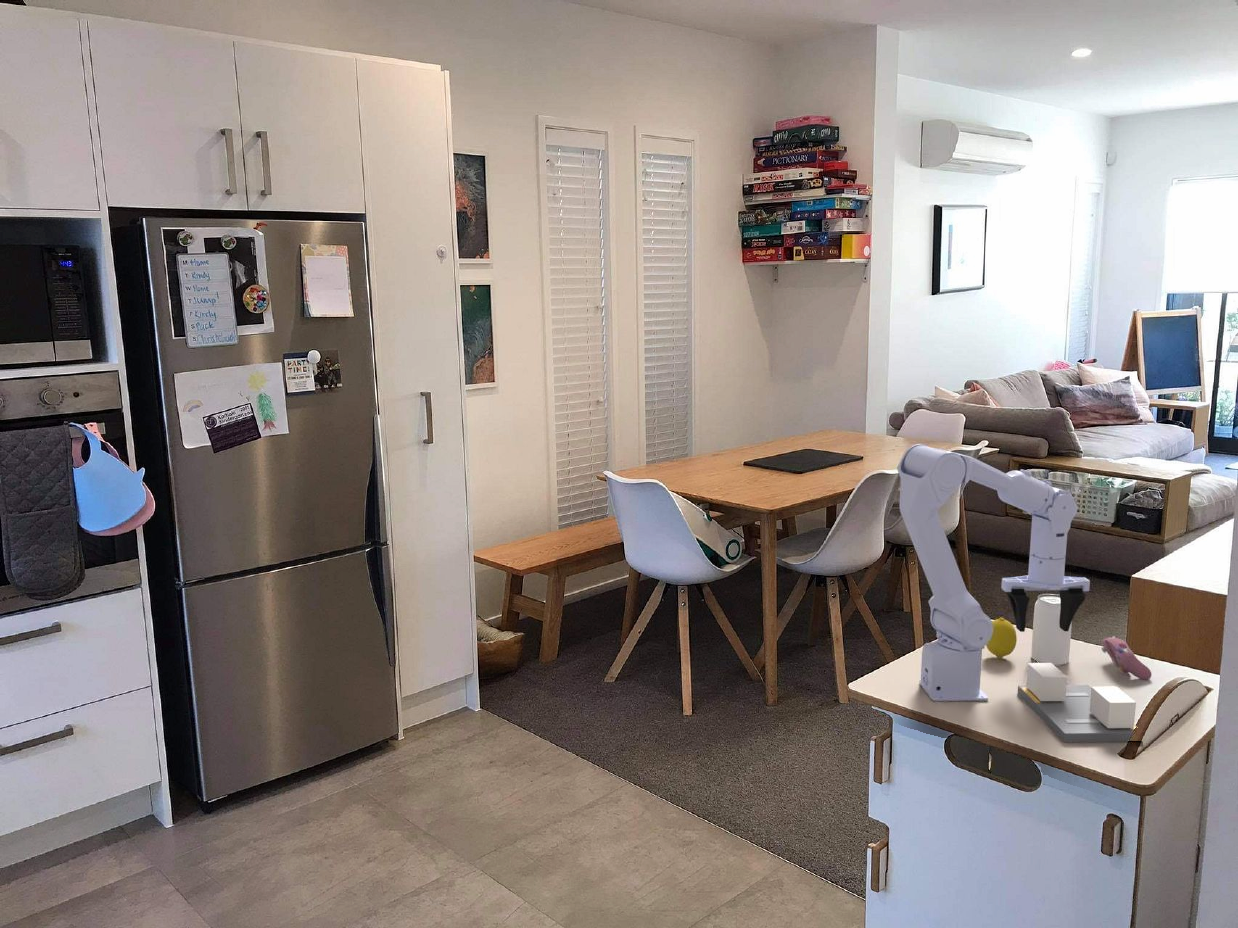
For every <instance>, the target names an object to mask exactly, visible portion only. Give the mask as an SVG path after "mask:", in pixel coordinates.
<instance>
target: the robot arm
mask: <svg viewBox="0 0 1238 928" xmlns="http://www.w3.org/2000/svg"><path fill="white" fill-rule="evenodd" d="M896 470H897V472H898V475H899V477H900V485H899V486H900V489H899V512H900V515H901V517H902V520H903V522H904V525H905V527H906V530H907V532H908V535H909V537H910V540H911V542H912V544H913V547H914V549H915V552H916V555H917V558H918V560H919V563H920V565H921V567H922V570H923V572H924V575H925V578H926V580H927V583H928V585H929V589H930V590H931V592H932V596H931V597H930V599H929V600H927V601H928V602H927V603H928V605H929V607H930V616H929V617H930V620H929V621H930V624H931V626H932V627H933V629H935V631H936V638H937V640H935V641H932V642H925V643H924V644H923V646H922V651H921V666H920V667H921V669H920V680H919V682H918V683H919V685H921V687H922V688H923V689H924V691H925V692H926V694H927V695H928V697H929V698H930V700H932V701H934V702H944V701H945V702H949V701H951V702H953V701H954V702H956V701H957V702H959V701H963V702H964V701H965V702H967V701H973V702H974V701H988V700H989V697H988V695H987V694H986V693H985V692H984V691H983V690H982V688H981V676H982V675H981V673H982V672H981V671H982V661H983V660H982V657H983V650H984V649H985V647H986V644H987V643H988V642H989V641H990V639H991V637H992V634H993V623H992V621H993V620H992V619H991V618H990V617H989V616H988V615H987V614H985V612H984V611H983V609H982V607H981V604H980V603H979V602H978V601H977V600H976V599H975V597H973V596H972V594H970V592H969V591H968V590H967V587H966V584H965V582H964V580H963V576H962V573H961V571H960V568H959V566H958V564H957V560H956V557H955V556H954V553H953V551H952V548H951V545H950V543H949V540H948V538H947V535H946V532H945V530H944V528H943V524H942V522H941V519H940V517H939V514H938V510H939V509H940V508H941V507H942V506H943V505H944V504H945V503H946V502H947V500H949V499H950V497H951V496H952V495H953V493H955V491H956V490H957V489H958V488H959V487H960V485H961V484H964V485H967V484H968V483H969V481H972V482H975V483H976V484H979V485H983V486H985V487H987V488H990V489H992V490H995V491H997V496H998V498H999V500H1000V501H1002V502H1004V503H1005V504H1009V505H1011V506H1013V507H1016V508H1017V509H1019V510H1022V511H1024V512H1026V513H1027V514H1028V515H1030V516H1031V529H1030V542H1029V543H1030V545H1029V546H1030V547H1029V559H1028V571H1027V572H1028V573H1027V574H1028V575H1022V576H1021V575H1020V576H1013V577H1002V578H1001V587H1000V588H1001V590H1003V591H1004V592H1005V594H1006V596H1007V598H1008V600H1009V602H1010V603H1009V604H1010V605H1011V609H1012V612H1013V617H1014V621H1015V629H1017V631H1019V632H1022V633H1025V632H1026V620H1027V611H1028V606H1029V602H1030V600H1031V598H1030V597H1029V596H1027V592H1025V591H1059V595H1060V605H1061V609H1060V620H1059V625H1060V628H1061V629H1062V630H1064V631H1069V627H1070V624H1071V622H1072V623H1073V619H1074V617H1075V615H1076V613H1077V611H1078V610H1079V608H1080V607H1081V605H1082V604H1083V603H1084V602H1085V600H1086V597H1087V596H1086V593H1084V592H1089V591H1090V585H1091V580H1090V579H1088V578H1086V577H1084V576H1083V577H1082V576H1081V577H1080V576H1079V577H1077V576H1066V575H1065V570H1066V569H1065V568H1066V567H1065V566H1066V555H1067V553H1066V552H1067V542H1068V532H1069V530H1070V529H1071V524H1072V521H1073V519H1074V517H1075V516H1076V514H1077V511H1078V509H1079V506H1078V505H1077V504H1076V501H1075V499H1074V496H1073V494H1072V493H1071V492H1070V491H1068V490H1064V489H1061V488H1057V487H1054V486H1052V485H1053V484H1052V482H1051V481H1049V480H1045V479H1042V480H1039V479H1037V478H1035V477H1033V476H1032V472H1031V471H1029V470H1025V469H1019V470H1011V471H1008V472H1006V473H1005V472H1003V471H1002V470H999V469H997V468H995V467H993V466H991V465H989V464H987V463H985V462H983V461H981V460H980V459H977V458H975V457H972V456H969V455H967V454H962V453H958V452H954V451H950V450H945V449H943V448H942V449H941V448H936V447H930V446H928V445H926V444H924V443H916V444H913V445H911V446H909V447H908V448H907V449H906V450H905V451H904V453H903V455H902V457H901V459H900V461H899V462H898V465H897V467H896Z"/></svg>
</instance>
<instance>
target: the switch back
mask: <svg viewBox="0 0 1238 928" xmlns="http://www.w3.org/2000/svg"><path fill="white" fill-rule="evenodd" d="M1025 683H1026V684H1025V686H1026V687H1027V688H1028V689H1029V690H1030V691H1031V692H1032V693H1033V694H1034V695H1035V696H1036V697H1037V698H1038V699H1039V700H1040V701H1065V700H1066V687H1067V685H1068V676H1067V675H1066V674H1064V673H1063V671H1061V669H1059V668H1058V666H1054V665H1053V664H1052V663H1038V662H1028V663H1027V669H1026V682H1025Z"/></svg>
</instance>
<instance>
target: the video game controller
mask: <svg viewBox="0 0 1238 928" xmlns="http://www.w3.org/2000/svg"><path fill="white" fill-rule="evenodd" d="M1101 644H1102V646H1101V651H1102V652H1103V653H1104V654H1106V653H1107V655H1108V656H1109V658H1110V659H1111V661H1112V662H1113V664H1114V666H1115V667H1116V668H1117V669H1118V670H1119V671H1120V672H1121V673H1123V674H1124V675H1128V674H1131V675H1132V676H1134V677H1136V678H1138V679H1140V680H1143V681H1146V680H1147V681H1148V680H1150V679H1151V678H1152V671H1151V669H1150V668H1148V666H1146V665H1145V664H1144V663H1143V662H1142V661H1141V660H1139V659H1138V658H1137V656H1136V654H1134V652H1133V650H1131V649H1130V647H1129V645H1128V643H1127V641H1125V640H1123V639H1121V638H1117V637H1116V635H1113V636H1112V637H1110V636H1109V637H1106V638H1104V639H1102V640H1101Z"/></svg>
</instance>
